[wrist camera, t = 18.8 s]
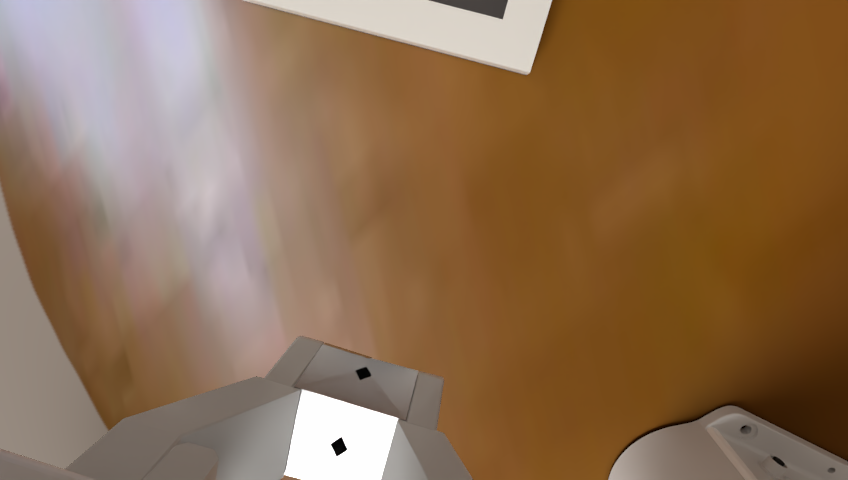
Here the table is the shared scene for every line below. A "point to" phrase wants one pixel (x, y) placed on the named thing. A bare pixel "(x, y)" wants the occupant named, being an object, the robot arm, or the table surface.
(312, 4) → the socket board
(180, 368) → the table surface
